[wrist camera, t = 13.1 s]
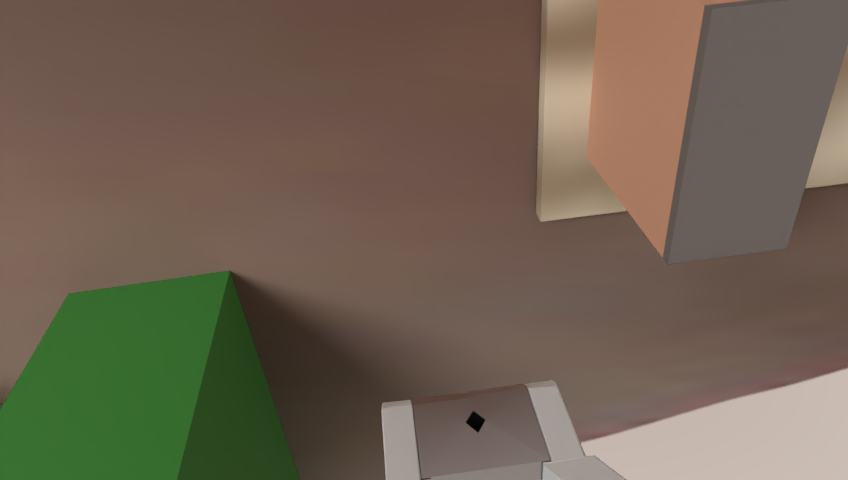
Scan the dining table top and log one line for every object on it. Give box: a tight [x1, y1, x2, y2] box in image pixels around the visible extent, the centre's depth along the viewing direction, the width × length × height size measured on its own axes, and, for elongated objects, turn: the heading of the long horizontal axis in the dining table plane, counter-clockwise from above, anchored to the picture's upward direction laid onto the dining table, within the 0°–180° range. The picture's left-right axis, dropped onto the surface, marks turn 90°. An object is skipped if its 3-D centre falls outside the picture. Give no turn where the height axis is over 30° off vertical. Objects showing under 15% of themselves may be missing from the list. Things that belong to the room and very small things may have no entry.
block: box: [587, 0, 848, 265], centre depth 21 cm, size 8×4×8 cm, turn 5°
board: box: [536, 0, 848, 222], centre depth 25 cm, size 14×20×2 cm
